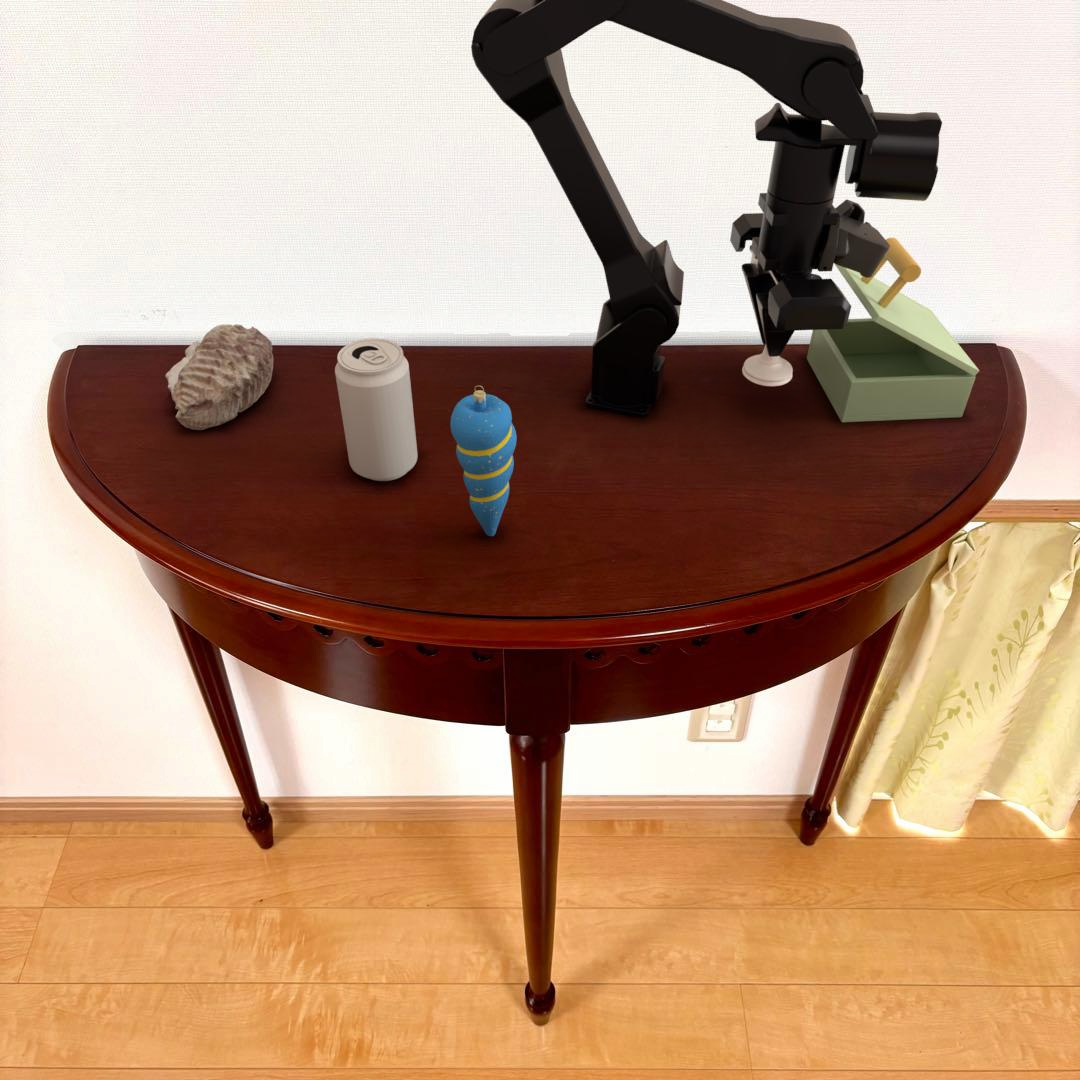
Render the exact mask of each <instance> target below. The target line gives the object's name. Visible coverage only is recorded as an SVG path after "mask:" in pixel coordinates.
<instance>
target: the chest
mask: <svg viewBox="0 0 1080 1080" xmlns="http://www.w3.org/2000/svg"><path fill="white" fill-rule="evenodd" d="M811 331H812V333H811V336H810V341H809V346H808V350H807V355H806V360H807V362H808V364H809V366H810V367H811V370H812V371H813V373H814V375H815V377H816V378H817V380H818V382H819V384H820V386H821V388H822V390H823V392H824V393H825V395H826V397H827V398H828V400H829V402H830V404H831V406H832V407H833V409H834V411H835V413H836V415H837V417H838V418H839V420H840V422H841V423H858V422H860V423H863V422H880V421H903V420H904V421H906V420H928V419H949V418H950V419H953V418H963V415H964V413H965V409H966V406H967V404H968V401H969V398H970V396H971V392H972V389H973V386H974V383H975V380H976V375H975V376H973V375H972V374H970V373H968V372H966V371H964V370H962V369H961V368H959V367H957V366H955V365H953V364H951V363H949V362H948V361H946V360H944V359H942V358H940V357H938V356H937V355H935V354H933V353H931V352H929V351H927V350H926V349H924V348H922V347H920V346H918V345H916V344H915V343H913V342H911V341H909V340H907V339H905V338H904V337H902V336H900V335H898V334H896V333H894V332H893V331H891V330H889V329H887V328H885V327H883V326H882V325H880V324H878V323H876V322H874V320H873V319H872V317H870V318H869V317H868V318H867V317H866V318H848V323H847V326H846V327H844V328H843V329H826V330H811Z"/></svg>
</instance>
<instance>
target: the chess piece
mask: <svg viewBox="0 0 1080 1080" xmlns="http://www.w3.org/2000/svg"><path fill="white" fill-rule="evenodd" d="M741 372H742V375H743V377H745V378H746V379H747V380H748V381H749V382H752V383H753V384H756V385H760V386H764V387H780V386H783V385H786V384H788V383H789V382H791V380H792V379H793V372H794V369H793V366H792V364H791V363H790V362H789V361H788V360H786V359H785V358H783V357H781V355H780V356H776V357H770V356H769V355H768V352H767V347H766V344H765V345H764V347H763V350H762V353H759V354H755V355H752V356H750V357H748V358H747V359H746V360H745V361H744V362H743V366H742V369H741Z"/></svg>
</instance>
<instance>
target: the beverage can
mask: <svg viewBox="0 0 1080 1080" xmlns="http://www.w3.org/2000/svg"><path fill="white" fill-rule="evenodd" d="M336 358H337V363H336V365H335V367H334V374H335V381H336V388H337V393H338V400H339V407H340V411H341V418H342V424H343V433H344V437H345V444H346V450H347V451H346V452H347V457H348V462H349V466H350V468H351V469H352V471H353V472H354V473H355V474H357V475H359V476H361V477H363V478H365V479H369V480H371V481H376V482H377V481H378V482H389V481H393V480H398V479H400V478H401V477H403V476H405V475H406V474H407V473H408V472H410V471H411V470H412V469H413V468H414V467H415V465H416V464H417V461H418V457H419V456H418V455H419V454H418V445H417V435H416V425H415V424H416V423H415V416H414V405H413V394H412V393H413V392H412V385H411V384H412V383H411V375H410V365H409V361H408V359H407V358H406V357H405V355H404V350H403V348H402V347H401V345H399V344H398V343H397V342H394V341H393V340H389V339H385V338H378V337H377V338H375V337H374V338H364V339H363V338H362V339H357V340H355V341H352V342H350V343H348V344H346V345H344V346H343V347H342V348H341V349H340V350H339V352H338V353H337V357H336Z"/></svg>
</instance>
